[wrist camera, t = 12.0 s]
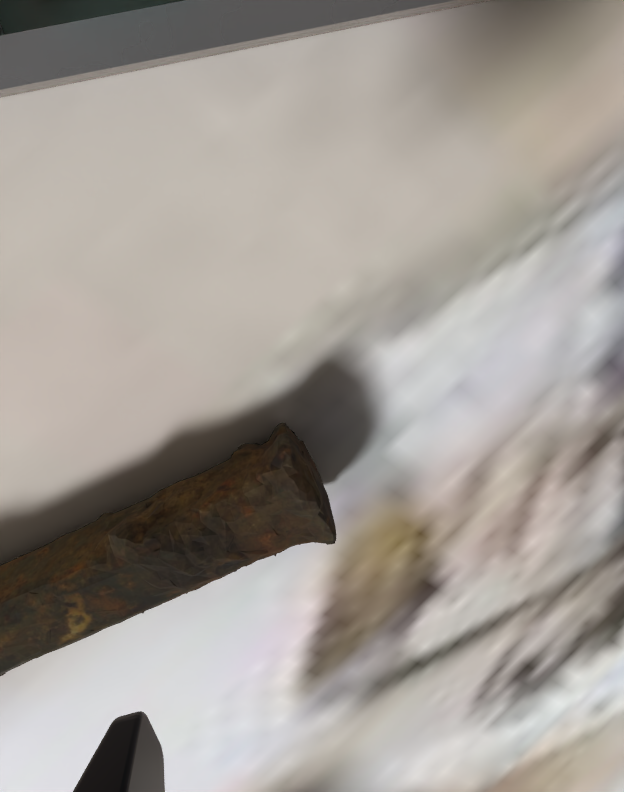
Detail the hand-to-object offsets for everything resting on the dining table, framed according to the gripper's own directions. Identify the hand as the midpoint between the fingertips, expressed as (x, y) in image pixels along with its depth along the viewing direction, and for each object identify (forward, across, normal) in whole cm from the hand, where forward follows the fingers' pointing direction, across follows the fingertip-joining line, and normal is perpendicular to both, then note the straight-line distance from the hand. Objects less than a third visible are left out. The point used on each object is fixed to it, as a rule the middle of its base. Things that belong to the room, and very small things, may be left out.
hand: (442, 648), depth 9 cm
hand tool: (+12, +10, +6) cm, 17 cm away
